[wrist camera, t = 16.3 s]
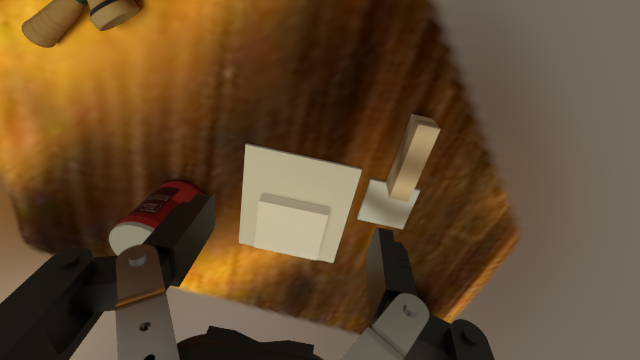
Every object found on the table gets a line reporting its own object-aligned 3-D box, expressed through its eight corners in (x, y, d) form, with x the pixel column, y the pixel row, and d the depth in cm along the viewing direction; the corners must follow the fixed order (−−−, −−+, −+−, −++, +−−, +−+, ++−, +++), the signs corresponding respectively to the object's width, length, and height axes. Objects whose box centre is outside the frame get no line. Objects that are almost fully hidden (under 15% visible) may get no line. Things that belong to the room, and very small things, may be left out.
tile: (258, 200, 40) (253, 247, 45) (328, 215, 40) (316, 260, 45) (262, 193, 42) (257, 238, 46) (329, 207, 42) (317, 251, 46)
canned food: (200, 228, 47) (162, 281, 38) (154, 204, 45) (102, 253, 36) (217, 196, 44) (180, 246, 34) (168, 169, 42) (115, 214, 32)
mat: (246, 143, 39) (245, 144, 38) (361, 168, 39) (362, 170, 38) (239, 240, 48) (238, 242, 47) (333, 260, 48) (333, 262, 48)
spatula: (393, 109, 35) (398, 119, 31) (449, 122, 35) (460, 133, 31) (357, 216, 43) (357, 234, 40) (402, 226, 43) (406, 244, 40)
